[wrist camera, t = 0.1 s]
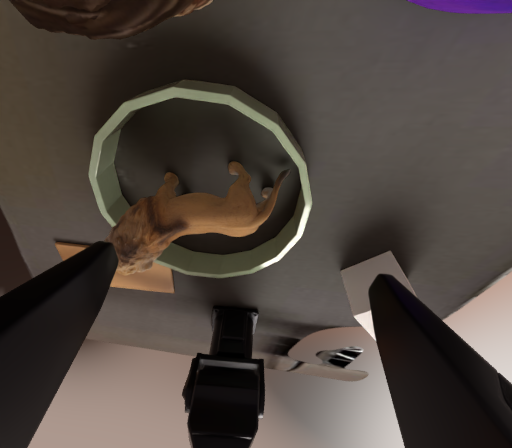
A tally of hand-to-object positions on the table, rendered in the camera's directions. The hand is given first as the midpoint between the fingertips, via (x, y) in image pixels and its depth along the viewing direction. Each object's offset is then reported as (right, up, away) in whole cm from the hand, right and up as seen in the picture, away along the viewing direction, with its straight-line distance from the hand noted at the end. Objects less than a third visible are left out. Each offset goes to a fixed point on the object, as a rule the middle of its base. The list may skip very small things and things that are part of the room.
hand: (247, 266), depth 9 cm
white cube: (+15, -5, +22) cm, 27 cm away
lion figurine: (-4, +5, +15) cm, 17 cm away
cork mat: (-17, -4, +23) cm, 29 cm away
